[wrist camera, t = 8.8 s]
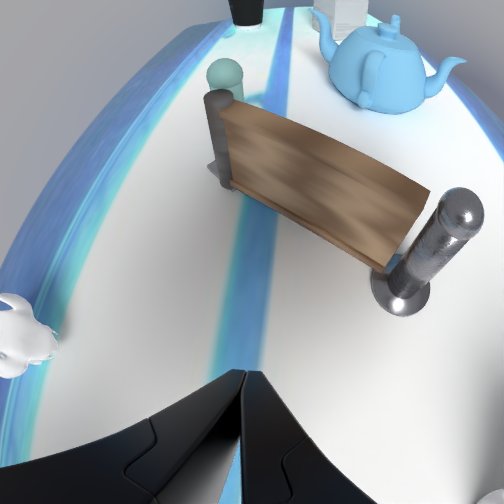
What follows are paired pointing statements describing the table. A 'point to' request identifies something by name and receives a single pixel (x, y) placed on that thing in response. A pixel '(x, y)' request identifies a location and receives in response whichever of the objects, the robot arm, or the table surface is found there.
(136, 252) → the table surface
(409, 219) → the gate
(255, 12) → the dixie cup
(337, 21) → the supplement box
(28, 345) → the elephant figurine
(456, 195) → the hinge post
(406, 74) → the teapot
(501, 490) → the beer glass
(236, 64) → the post
